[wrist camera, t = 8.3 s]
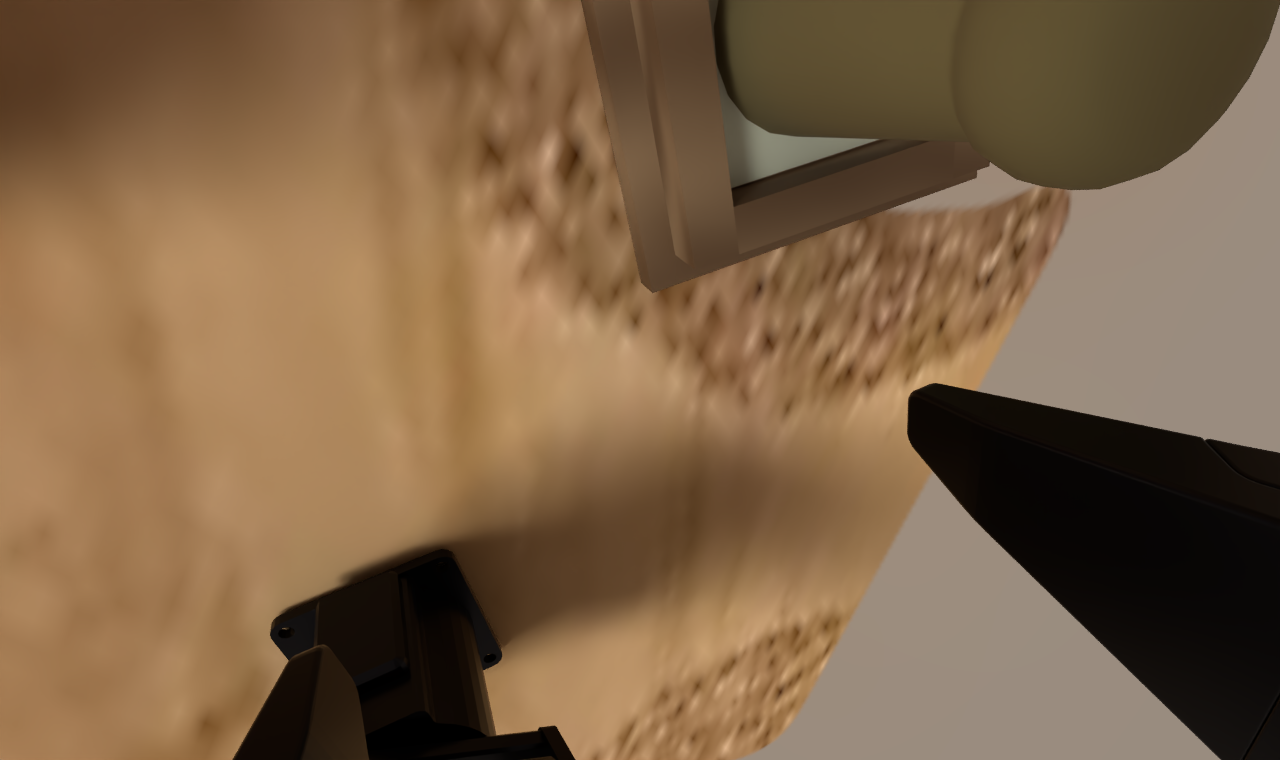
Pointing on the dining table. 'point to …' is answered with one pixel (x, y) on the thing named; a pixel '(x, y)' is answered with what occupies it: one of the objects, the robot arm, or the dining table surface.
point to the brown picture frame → (730, 151)
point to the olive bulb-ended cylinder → (998, 76)
